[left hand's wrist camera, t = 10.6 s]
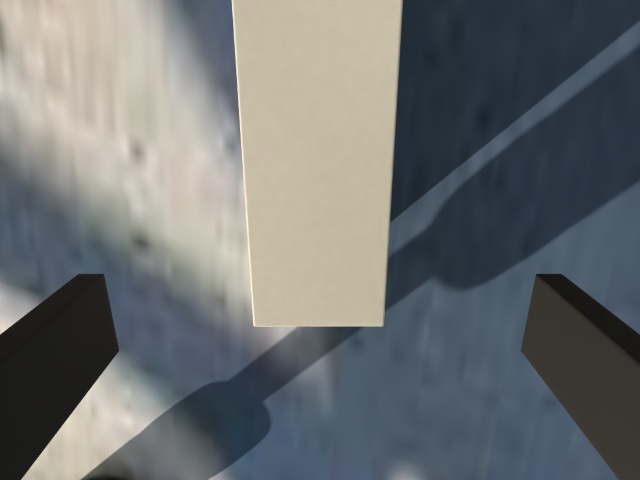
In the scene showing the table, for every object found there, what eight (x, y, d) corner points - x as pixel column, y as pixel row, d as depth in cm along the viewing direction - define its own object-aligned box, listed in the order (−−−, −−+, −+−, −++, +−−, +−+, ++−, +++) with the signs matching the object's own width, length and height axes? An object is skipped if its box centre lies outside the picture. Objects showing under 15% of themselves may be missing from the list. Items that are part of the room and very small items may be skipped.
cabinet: (265, -1, 25) (226, -63, 15) (370, -1, 25) (407, -64, 15) (275, 245, 30) (253, 327, 20) (362, 245, 30) (384, 327, 20)
